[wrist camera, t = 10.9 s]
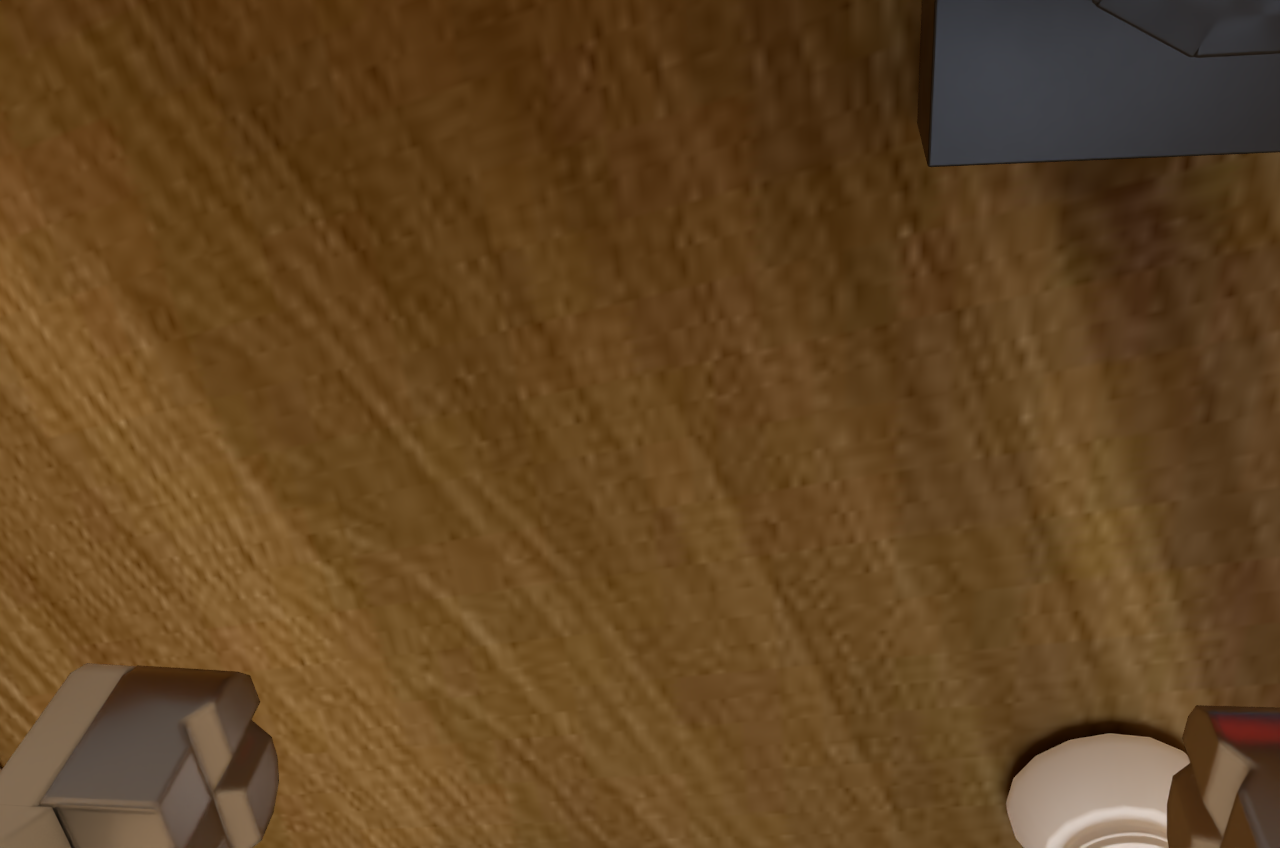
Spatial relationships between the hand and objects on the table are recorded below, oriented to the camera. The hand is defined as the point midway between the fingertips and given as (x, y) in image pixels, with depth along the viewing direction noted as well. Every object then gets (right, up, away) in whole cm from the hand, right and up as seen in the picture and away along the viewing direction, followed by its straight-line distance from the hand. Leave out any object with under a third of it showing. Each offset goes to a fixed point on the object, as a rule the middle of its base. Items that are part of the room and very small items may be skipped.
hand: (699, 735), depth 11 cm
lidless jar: (+12, -7, +22) cm, 26 cm away
